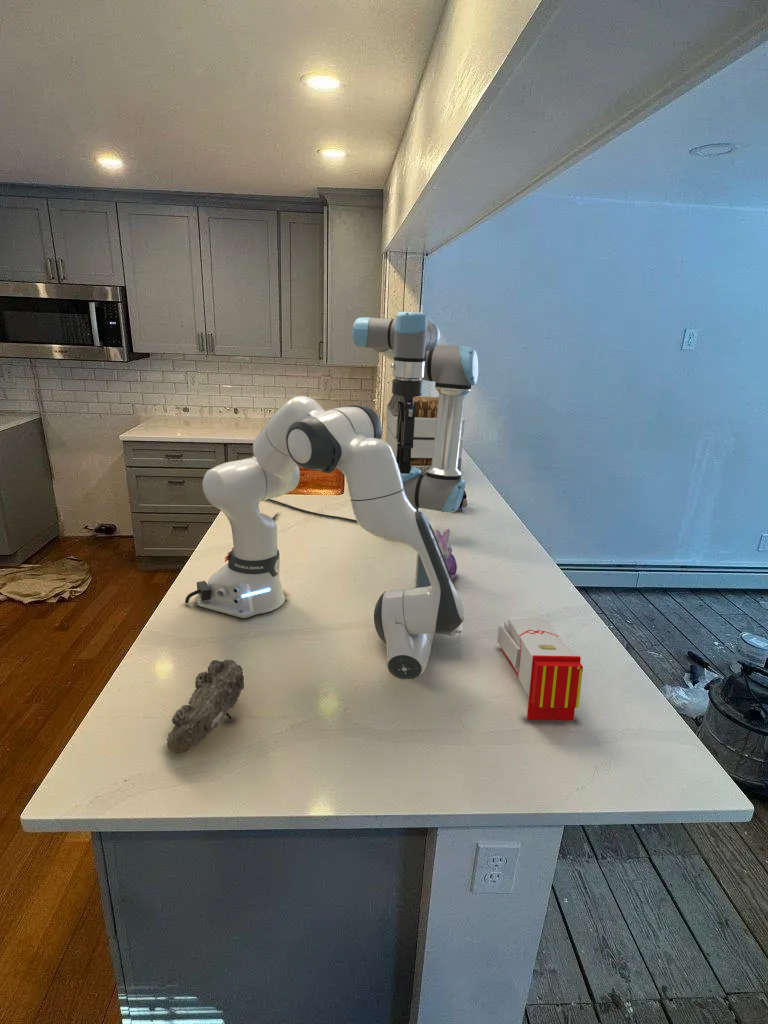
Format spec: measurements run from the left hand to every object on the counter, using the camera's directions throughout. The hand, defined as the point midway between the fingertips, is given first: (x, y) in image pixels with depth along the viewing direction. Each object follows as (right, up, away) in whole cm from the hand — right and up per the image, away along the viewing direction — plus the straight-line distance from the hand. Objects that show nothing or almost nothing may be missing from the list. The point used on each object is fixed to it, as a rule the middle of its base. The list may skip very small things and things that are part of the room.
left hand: (423, 600), depth 142 cm
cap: (-5, +35, +4) cm, 35 cm away
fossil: (-43, -17, -34) cm, 57 cm away
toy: (+22, -14, -18) cm, 32 cm away
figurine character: (+20, +24, +87) cm, 93 cm away
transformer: (+7, +41, +133) cm, 139 cm away
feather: (-50, +20, +68) cm, 87 cm away
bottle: (0, -6, +1) cm, 6 cm away
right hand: (-5, +33, +5) cm, 34 cm away
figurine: (+8, +3, +26) cm, 28 cm away
